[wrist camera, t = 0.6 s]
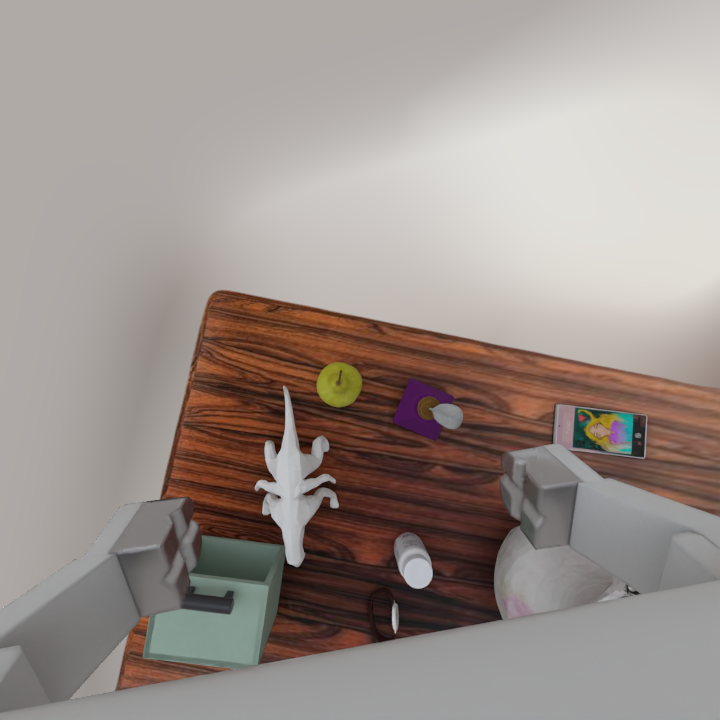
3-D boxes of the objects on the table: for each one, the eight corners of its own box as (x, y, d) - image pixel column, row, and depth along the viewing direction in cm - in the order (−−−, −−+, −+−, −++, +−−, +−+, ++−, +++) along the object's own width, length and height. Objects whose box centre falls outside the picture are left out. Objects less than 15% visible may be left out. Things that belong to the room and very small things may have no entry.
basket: (277, 612, 56) (249, 693, 41) (187, 600, 56) (125, 678, 41) (286, 545, 57) (262, 600, 42) (198, 534, 57) (142, 585, 41)
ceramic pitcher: (448, 514, 59) (502, 615, 34) (556, 461, 58) (689, 523, 34) (512, 639, 57) (616, 839, 33) (623, 585, 57) (813, 745, 32)
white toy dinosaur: (265, 548, 57) (247, 581, 47) (256, 389, 59) (236, 389, 49) (342, 540, 57) (340, 572, 47) (329, 383, 59) (325, 381, 49)
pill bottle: (411, 569, 57) (422, 599, 48) (387, 550, 57) (393, 577, 49) (429, 543, 57) (442, 569, 49) (405, 525, 57) (414, 548, 49)
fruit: (349, 413, 59) (348, 418, 47) (312, 395, 59) (301, 395, 47) (367, 375, 59) (371, 371, 47) (330, 357, 60) (325, 348, 48)
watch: (400, 635, 56) (403, 651, 52) (370, 638, 56) (371, 655, 52) (395, 583, 57) (398, 596, 53) (365, 586, 56) (366, 599, 53)
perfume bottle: (389, 420, 59) (405, 432, 41) (407, 378, 60) (430, 372, 42) (431, 438, 59) (466, 459, 41) (448, 396, 59) (490, 398, 41)
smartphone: (645, 459, 58) (554, 448, 58) (641, 458, 59) (552, 447, 59) (647, 415, 59) (557, 404, 59) (643, 414, 60) (555, 403, 60)
